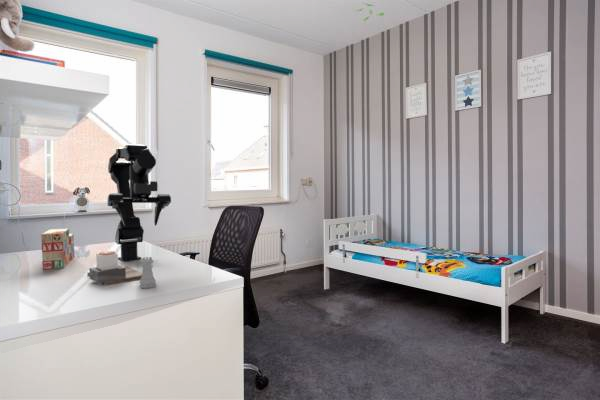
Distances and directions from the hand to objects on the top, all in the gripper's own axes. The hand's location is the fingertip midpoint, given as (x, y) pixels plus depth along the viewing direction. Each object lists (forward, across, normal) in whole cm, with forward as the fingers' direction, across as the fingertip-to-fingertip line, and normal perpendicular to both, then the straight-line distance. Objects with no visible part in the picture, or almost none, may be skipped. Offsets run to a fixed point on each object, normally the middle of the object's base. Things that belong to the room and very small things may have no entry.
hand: (140, 225), depth 123 cm
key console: (+16, -8, +1) cm, 18 cm away
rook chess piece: (+21, -1, -14) cm, 25 cm away
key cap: (+14, -10, -4) cm, 17 cm away
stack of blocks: (+5, -22, +34) cm, 41 cm away
